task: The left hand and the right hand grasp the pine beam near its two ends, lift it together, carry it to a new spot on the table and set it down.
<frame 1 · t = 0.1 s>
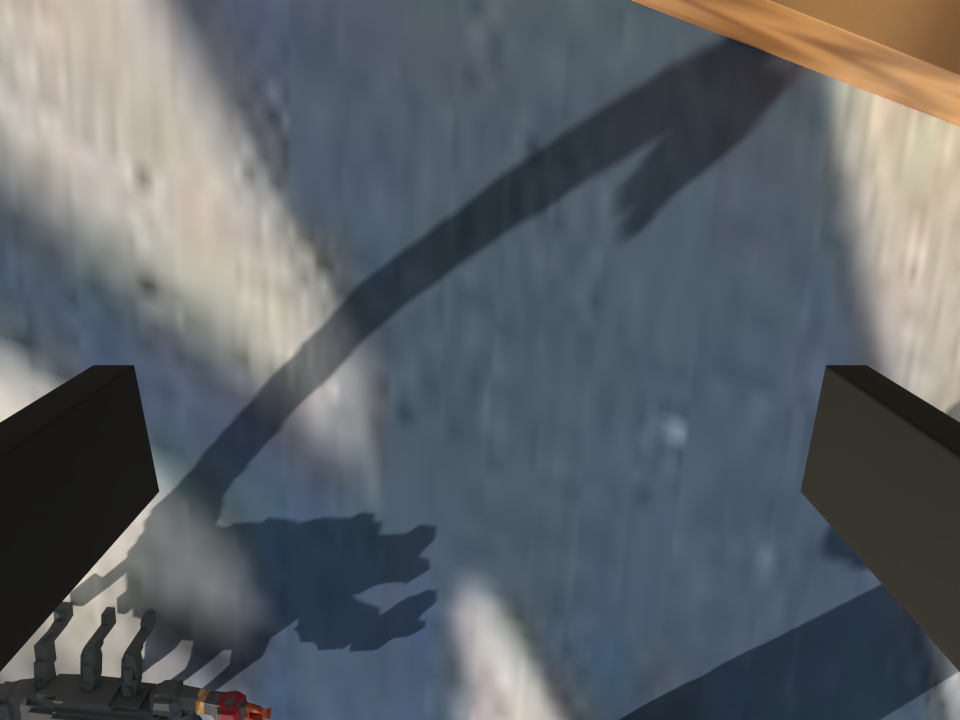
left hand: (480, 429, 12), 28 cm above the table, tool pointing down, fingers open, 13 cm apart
toy: (133, 678, 51), on the table
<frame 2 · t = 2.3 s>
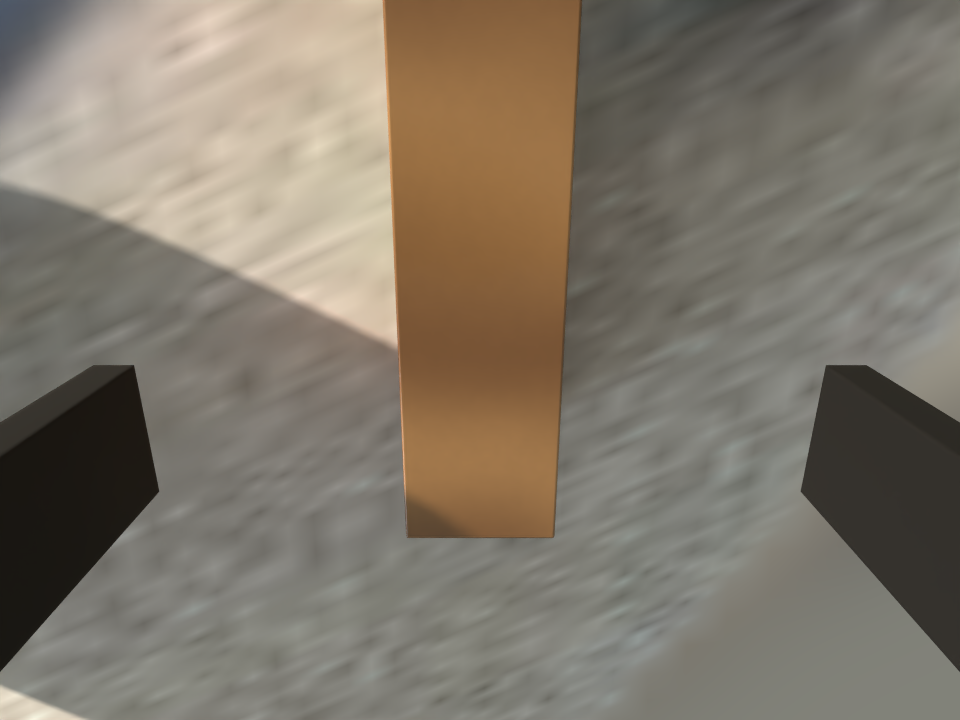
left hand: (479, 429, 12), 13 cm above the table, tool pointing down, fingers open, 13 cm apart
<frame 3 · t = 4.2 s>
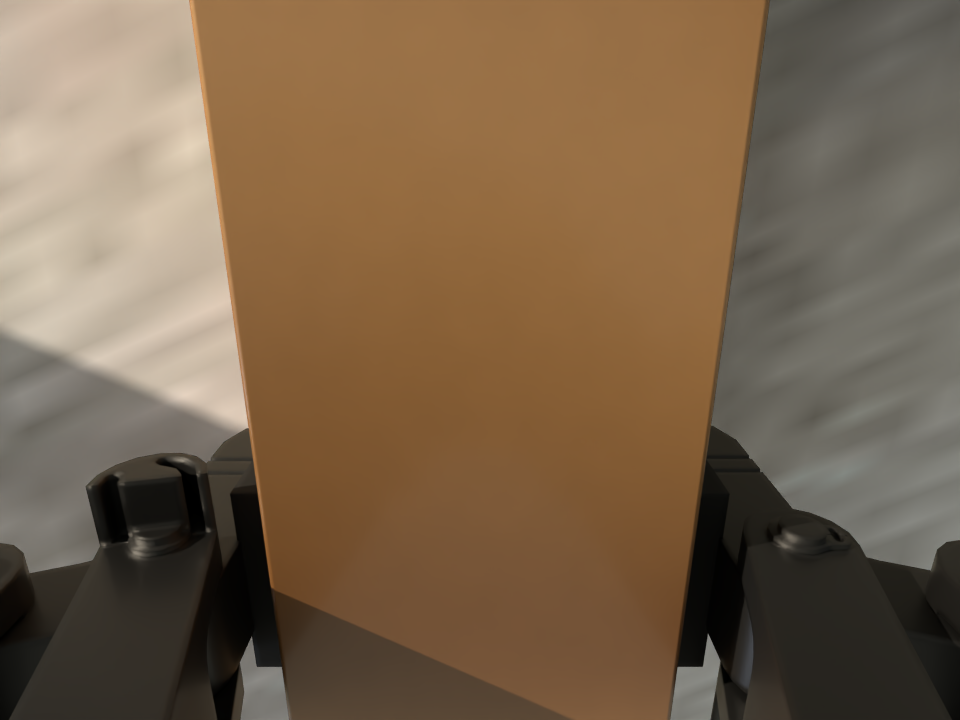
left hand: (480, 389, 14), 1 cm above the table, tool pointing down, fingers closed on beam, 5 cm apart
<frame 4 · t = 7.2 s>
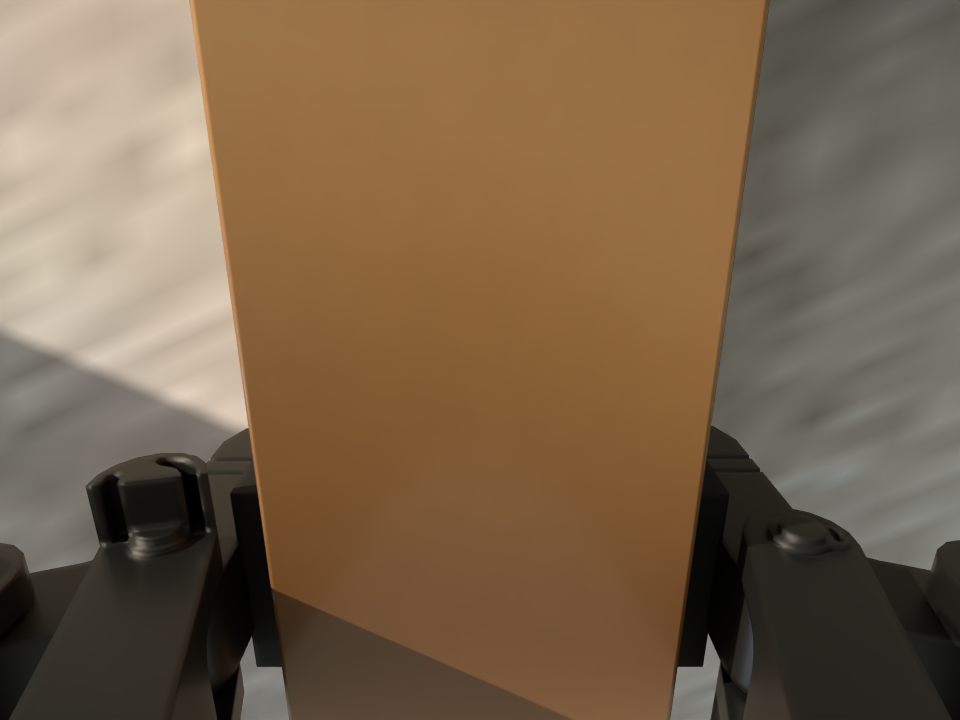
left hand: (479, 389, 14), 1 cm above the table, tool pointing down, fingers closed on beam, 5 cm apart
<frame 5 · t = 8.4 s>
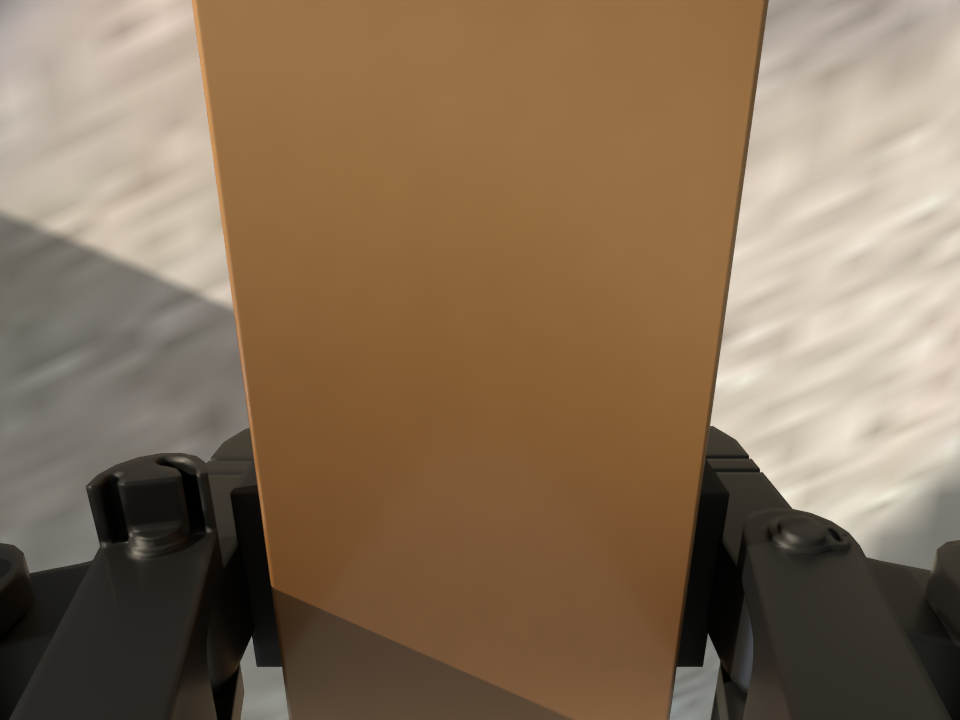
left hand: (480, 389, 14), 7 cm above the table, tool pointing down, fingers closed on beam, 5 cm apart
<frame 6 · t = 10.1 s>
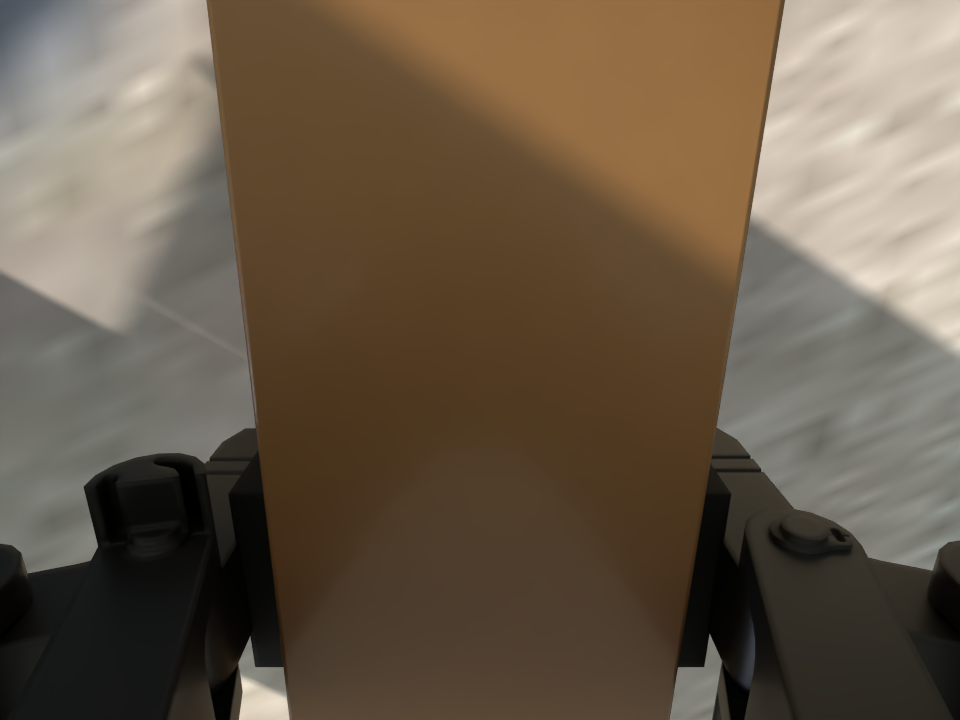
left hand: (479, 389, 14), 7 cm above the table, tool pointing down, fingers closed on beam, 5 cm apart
when the left hand's fingers open (2 cm above the table, at t = 12.9 s): beam drops 1 cm, on the table.
when the right hand's fingers open (2 cm above the table, at t = 12.9 s): beam drops 1 cm, on the table.
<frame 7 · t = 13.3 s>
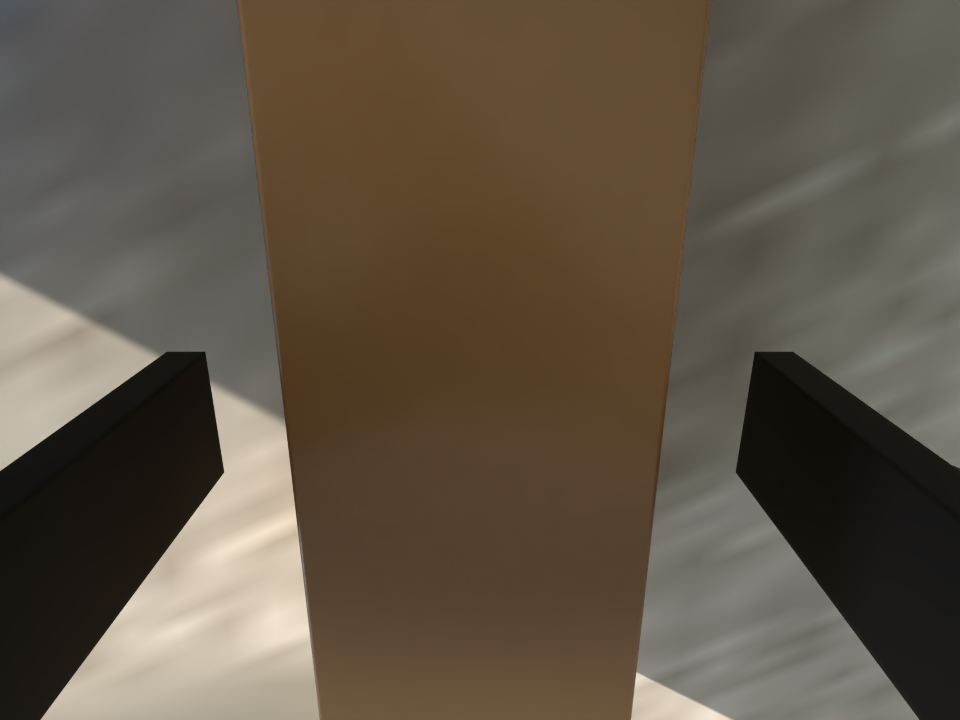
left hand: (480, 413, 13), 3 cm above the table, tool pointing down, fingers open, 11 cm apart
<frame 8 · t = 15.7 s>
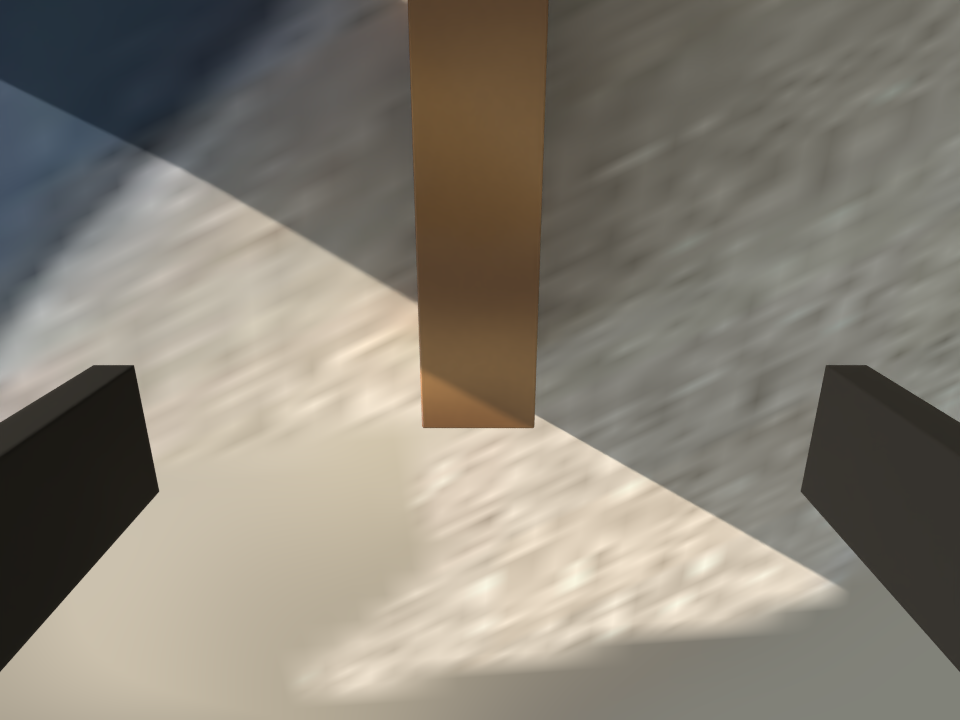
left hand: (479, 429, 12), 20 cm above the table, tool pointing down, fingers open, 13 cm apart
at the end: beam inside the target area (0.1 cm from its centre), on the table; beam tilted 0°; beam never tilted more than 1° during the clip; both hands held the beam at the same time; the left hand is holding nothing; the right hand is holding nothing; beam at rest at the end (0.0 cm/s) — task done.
